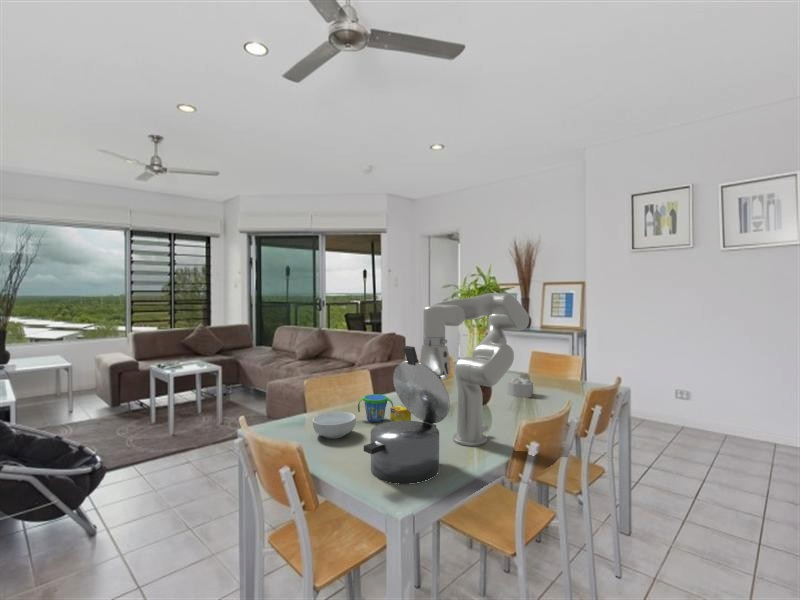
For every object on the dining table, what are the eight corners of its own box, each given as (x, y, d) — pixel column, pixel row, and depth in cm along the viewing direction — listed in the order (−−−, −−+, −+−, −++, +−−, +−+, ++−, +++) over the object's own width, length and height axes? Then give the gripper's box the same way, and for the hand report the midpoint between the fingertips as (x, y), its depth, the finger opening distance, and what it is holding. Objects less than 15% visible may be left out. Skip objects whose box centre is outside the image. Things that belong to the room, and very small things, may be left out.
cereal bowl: (336, 425, 177) (336, 408, 177) (364, 433, 167) (364, 416, 166) (303, 436, 164) (303, 418, 164) (332, 446, 154) (332, 427, 153)
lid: (402, 416, 151) (407, 412, 152) (454, 431, 135) (459, 426, 136) (382, 344, 143) (388, 341, 144) (435, 352, 127) (440, 348, 129)
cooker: (407, 448, 152) (407, 415, 151) (456, 465, 137) (456, 429, 136) (344, 473, 131) (344, 435, 131) (394, 498, 116) (394, 455, 115)
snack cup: (395, 417, 188) (395, 394, 188) (390, 424, 178) (390, 400, 177) (361, 415, 191) (361, 393, 190) (355, 422, 180) (355, 399, 180)
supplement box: (390, 434, 166) (389, 407, 165) (401, 431, 169) (401, 404, 169) (399, 438, 161) (399, 410, 161) (411, 435, 165) (411, 407, 165)
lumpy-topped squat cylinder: (529, 398, 219) (529, 382, 219) (504, 395, 225) (505, 379, 225) (534, 394, 228) (534, 378, 228) (510, 391, 234) (510, 375, 234)
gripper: (458, 342, 142) (458, 396, 142) (424, 338, 152) (424, 389, 153) (444, 344, 137) (444, 400, 137) (410, 340, 147) (410, 392, 147)
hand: (434, 394), depth 145 cm, fingers closed
